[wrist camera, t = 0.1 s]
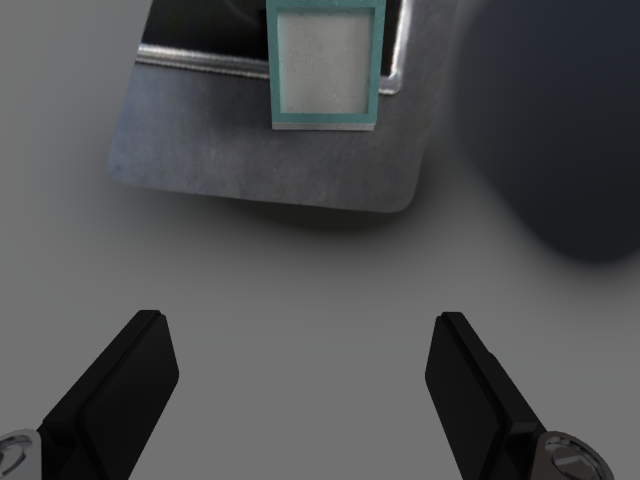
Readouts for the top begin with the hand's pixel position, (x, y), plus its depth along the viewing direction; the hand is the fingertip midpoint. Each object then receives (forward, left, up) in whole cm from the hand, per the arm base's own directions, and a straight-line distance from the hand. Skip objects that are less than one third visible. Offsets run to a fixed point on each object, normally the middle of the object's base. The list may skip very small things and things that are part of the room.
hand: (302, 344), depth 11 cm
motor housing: (-11, +1, -31) cm, 33 cm away
